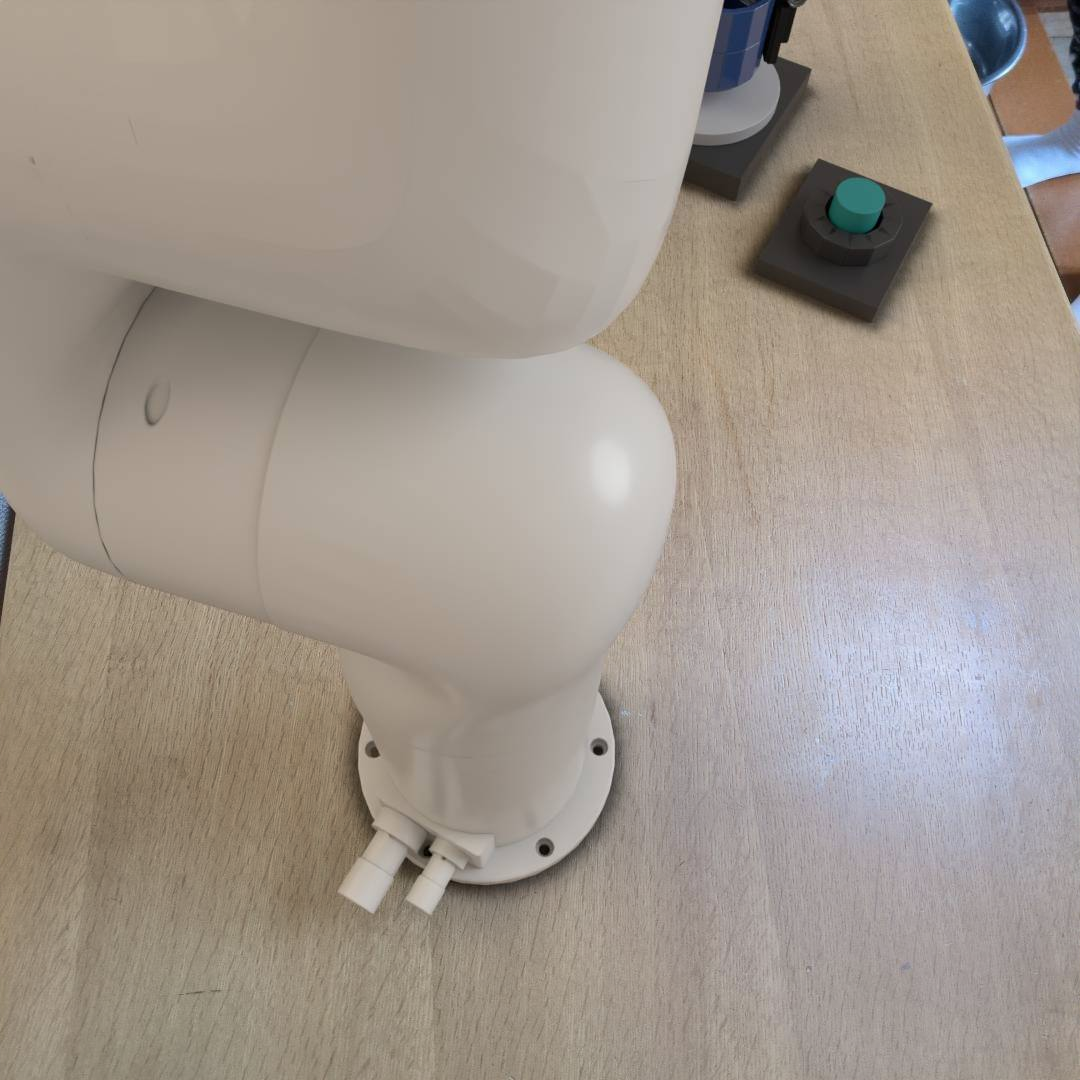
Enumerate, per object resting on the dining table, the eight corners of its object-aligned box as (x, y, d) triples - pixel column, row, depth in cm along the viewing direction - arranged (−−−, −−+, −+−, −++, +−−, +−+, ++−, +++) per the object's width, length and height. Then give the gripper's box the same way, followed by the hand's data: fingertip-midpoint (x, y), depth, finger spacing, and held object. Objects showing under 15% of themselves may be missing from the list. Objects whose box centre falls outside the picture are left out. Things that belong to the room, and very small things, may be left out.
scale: (735, 202, 68) (744, 167, 66) (588, 142, 71) (591, 106, 68) (805, 92, 73) (815, 56, 70) (665, 39, 75) (671, 2, 73)
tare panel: (871, 324, 64) (886, 292, 61) (753, 273, 66) (763, 240, 63) (925, 218, 68) (942, 184, 65) (813, 173, 70) (824, 138, 67)
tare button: (866, 241, 63) (875, 220, 62) (821, 222, 64) (828, 202, 63) (883, 209, 65) (892, 188, 63) (839, 191, 65) (846, 170, 64)
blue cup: (733, 110, 66) (752, 26, 61) (643, 75, 67) (654, -10, 62) (773, 51, 68) (794, -35, 63) (686, 18, 70) (699, -68, 64)
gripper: (602, -219, 49) (582, 94, 65) (960, -223, 50) (853, 88, 66) (590, -303, 52) (574, 15, 68) (926, -305, 53) (832, 10, 69)
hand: (711, 48), depth 67 cm, fingers closed on blue cup, 6 cm apart
